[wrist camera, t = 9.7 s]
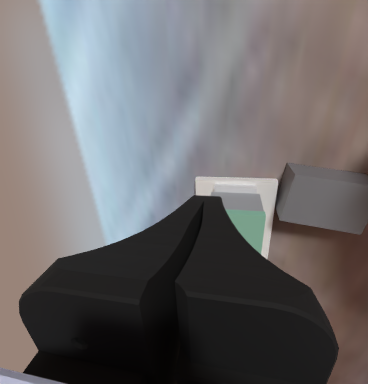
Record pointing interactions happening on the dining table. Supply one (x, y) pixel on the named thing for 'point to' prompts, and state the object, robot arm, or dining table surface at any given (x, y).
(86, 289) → the robot arm
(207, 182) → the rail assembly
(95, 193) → the dining table surface
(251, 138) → the dining table surface
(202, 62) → the dining table surface
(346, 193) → the relay
